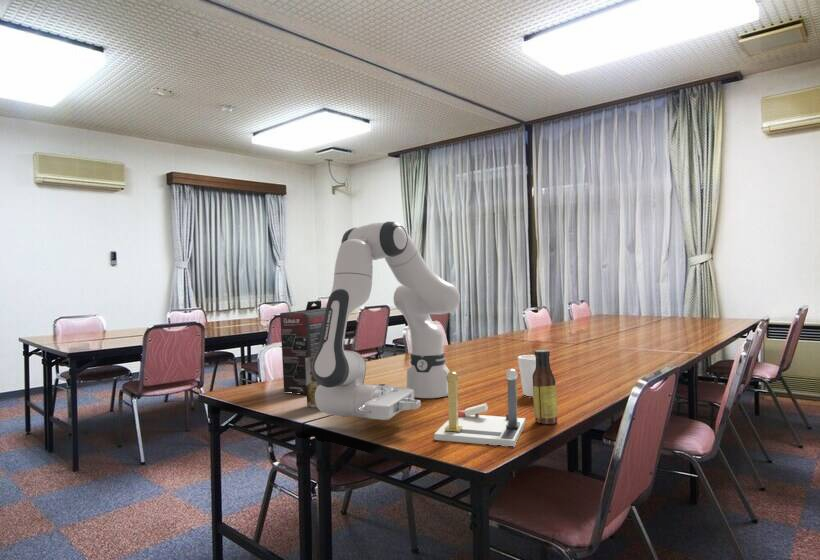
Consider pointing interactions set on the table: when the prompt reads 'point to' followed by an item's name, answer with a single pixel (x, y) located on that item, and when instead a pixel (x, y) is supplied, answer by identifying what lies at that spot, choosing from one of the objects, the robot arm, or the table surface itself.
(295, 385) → the headset box
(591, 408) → the table surface
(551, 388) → the sauce bottle
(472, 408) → the block
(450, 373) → the brass lever
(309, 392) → the coffee box
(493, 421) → the panel
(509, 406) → the graphite lever
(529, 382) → the foam cup
